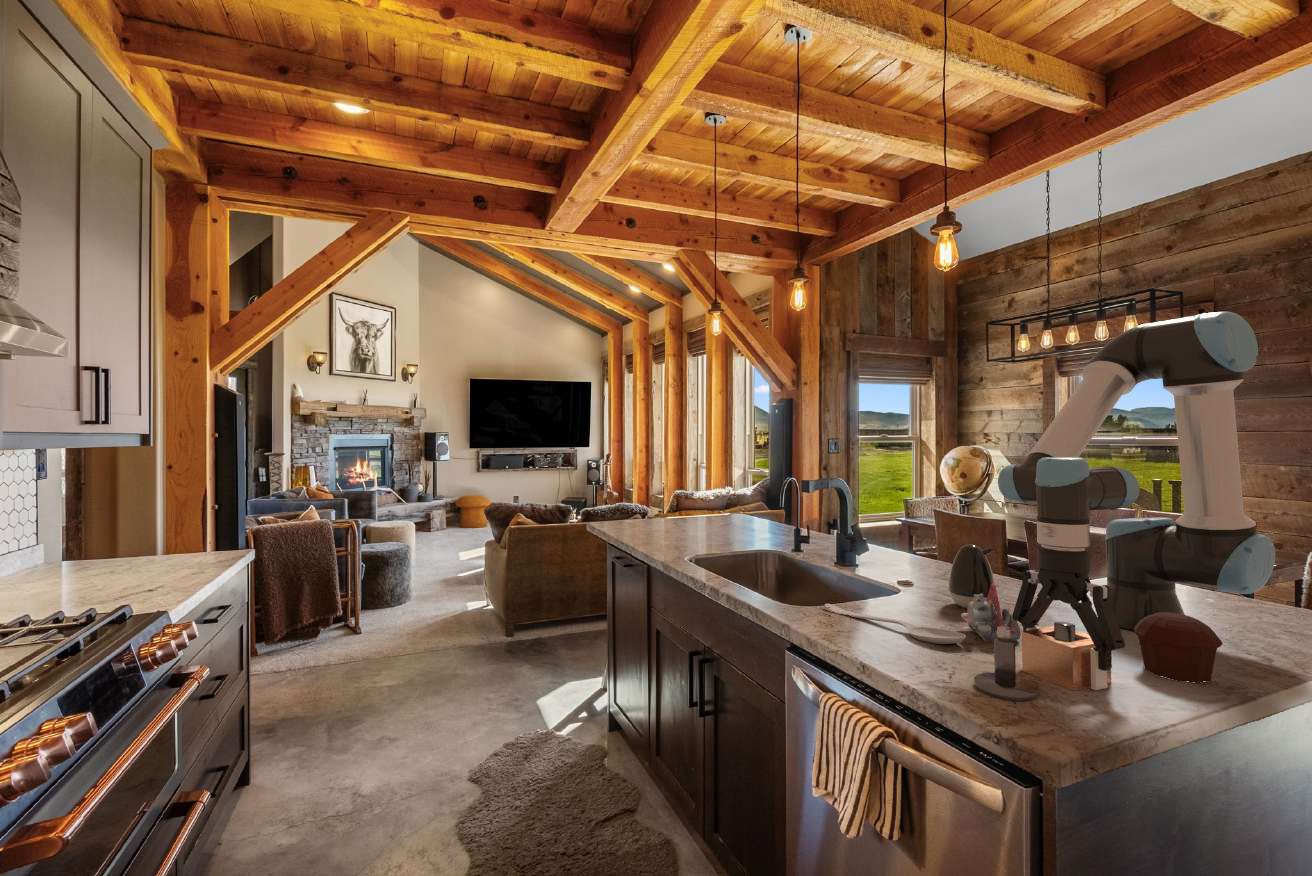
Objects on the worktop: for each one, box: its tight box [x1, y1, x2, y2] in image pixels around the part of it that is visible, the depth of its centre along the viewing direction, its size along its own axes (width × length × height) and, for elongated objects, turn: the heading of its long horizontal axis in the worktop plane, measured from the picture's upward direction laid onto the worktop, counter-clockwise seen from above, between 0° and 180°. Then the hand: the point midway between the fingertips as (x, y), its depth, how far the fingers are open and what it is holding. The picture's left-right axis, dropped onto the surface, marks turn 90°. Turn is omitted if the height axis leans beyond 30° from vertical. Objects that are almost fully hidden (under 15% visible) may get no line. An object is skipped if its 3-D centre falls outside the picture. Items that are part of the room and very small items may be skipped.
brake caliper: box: [960, 583, 1022, 643], centre depth 123 cm, size 11×11×12 cm
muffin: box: [1133, 612, 1224, 684], centre depth 103 cm, size 12×11×10 cm
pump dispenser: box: [948, 543, 996, 609], centre depth 145 cm, size 10×10×15 cm
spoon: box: [824, 603, 967, 645], centre depth 131 cm, size 35×8×3 cm, turn 32°
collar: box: [1021, 625, 1112, 692], centre depth 102 cm, size 9×9×7 cm
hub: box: [973, 626, 1039, 702], centre depth 97 cm, size 9×9×10 cm
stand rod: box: [1053, 621, 1076, 642], centre depth 102 cm, size 3×3×9 cm
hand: (1065, 675), depth 102 cm, fingers open, 10 cm apart
